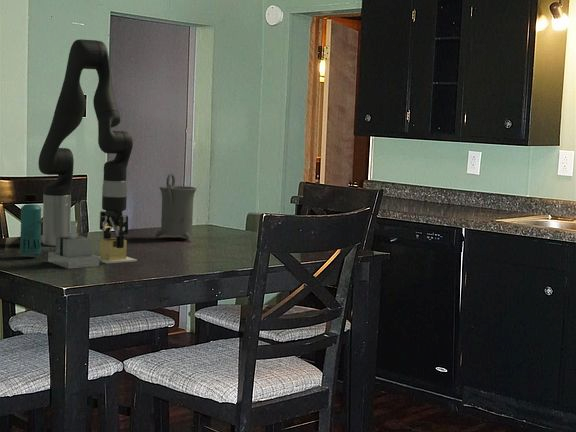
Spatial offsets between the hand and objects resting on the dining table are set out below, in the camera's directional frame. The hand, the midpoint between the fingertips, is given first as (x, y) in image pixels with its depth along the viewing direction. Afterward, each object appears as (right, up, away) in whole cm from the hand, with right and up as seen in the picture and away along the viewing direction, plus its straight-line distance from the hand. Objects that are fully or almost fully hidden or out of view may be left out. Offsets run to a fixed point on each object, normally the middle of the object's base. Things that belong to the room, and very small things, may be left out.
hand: (113, 246), depth 291 cm
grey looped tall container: (+13, 0, +53) cm, 55 cm away
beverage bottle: (-26, -4, -2) cm, 26 cm away
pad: (0, -4, 0) cm, 4 cm away
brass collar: (0, -4, 0) cm, 4 cm away
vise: (-10, -5, -10) cm, 15 cm away
